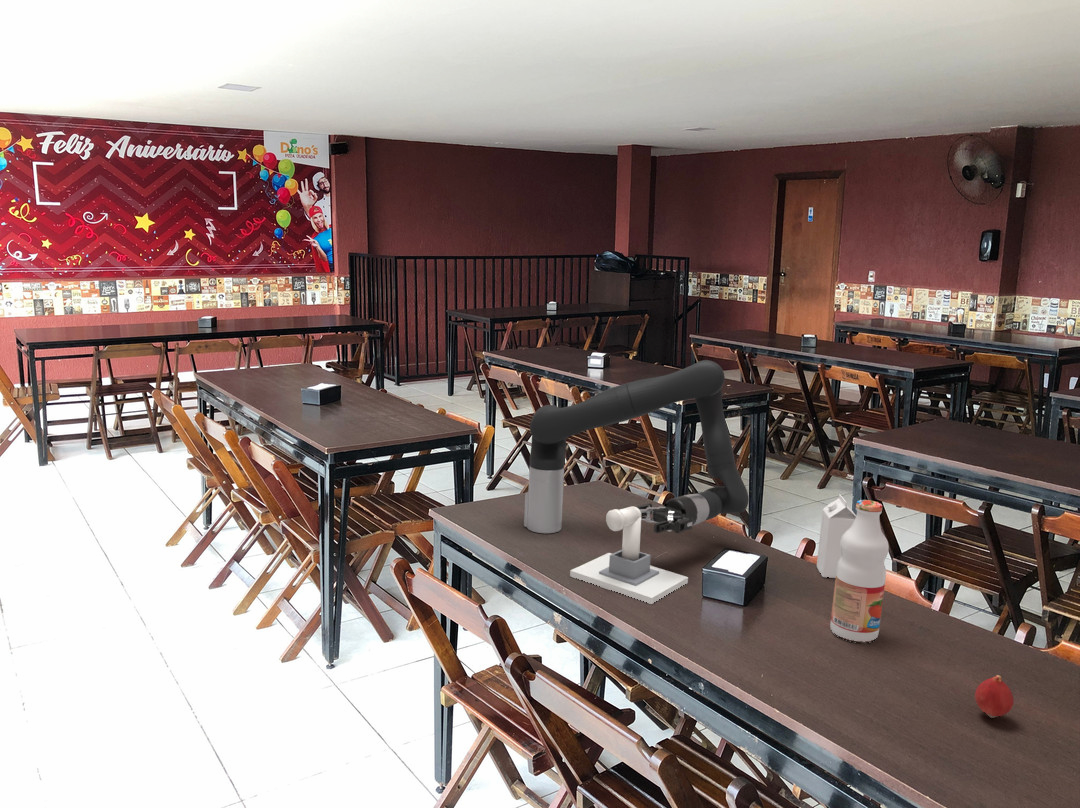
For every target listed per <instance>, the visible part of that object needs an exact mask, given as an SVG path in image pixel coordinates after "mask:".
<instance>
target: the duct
mask: <svg viewBox="0 0 1080 808" xmlns="http://www.w3.org/2000/svg"><path fill="white" fill-rule="evenodd" d="M651 556H652V555H651V554H648V553H645V552H641V551H639V559H638V560H636V561H631V560H628V559H625V558H622V549H620V550H618V551H615V552H613V553H611V552H607V553H605V554H603V555H601V556H599V557H596V558H595V559H591V560H590V561H588V562H586V563H584V564H582V565H580V566H577V567H575V568H572V569H570V570H569V577H570V578H573V579H576V578H577V579H576V580H578V579H579V581H581V580H583V581H582V582H584V581H585V583H587V582H588V584H590V583H592V584H591V585H593V584H594V586H596V585H597V586H596V587H599V586H600V587H599V588H602V589H606V590H608V591H611V590H612V591H611V592H614V591H615V592H614V593H616V592H618V593H617V594H619V593H621V594H620V595H622V594H624V595H623V596H625V595H626V597H628V596H629V598H631V597H632V599H634V598H635V599H634V600H637V599H638V601H640V600H641V601H640V602H643V601H644V602H643V603H646V602H647V604H649V605H653V604H655V603H657V602H658V601H660V600H661V598H662V599H663V598H665V597H667V596H669V595H670V594H672V593H673V591H674V590H675V591H677V590H679V589H681V588H682V587H684V586H686V585H687V584H688V583H689V577H688V576H685V575H682V574H679V573H676V572H674V571H673V572H672V571H669V570H667V569H666V570H665V569H663V568H660V567H656V566H653V565H651V558H652V557H651ZM685 584H686V585H685ZM683 585H684V586H683ZM681 586H682V587H681ZM680 587H681V588H680ZM678 588H679V589H678ZM676 589H677V590H676ZM675 591H674V592H675ZM671 592H672V593H671ZM669 593H670V594H669ZM668 594H669V595H668ZM666 595H667V596H666ZM664 596H665V597H664ZM659 599H660V600H659ZM656 601H657V602H656ZM654 602H655V603H654Z"/></svg>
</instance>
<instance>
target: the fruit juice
mask: <svg viewBox="0 0 1080 808" xmlns="http://www.w3.org/2000/svg"><path fill="white" fill-rule="evenodd" d="M855 510H856V514H855V515H856V518H855V520H854V522H853V524H852V526H851V527H850V528H849V529H848V530H847V531H846V532H845V533H844V534H843V536H842V538H841V543H840V546H841V553H842V556H841V558H840V560H839V562H838V565H837V571H836V578H835V581H834V589H833V598H832V605H831V615H830V625H829V626H830V631H831V630H832V631H831V633H833V634H834V633H835V634H836V635H838V636H840V637H843V638H846V639H849V640H854V641H863V642H865V641H871V640H874V639H876V638H877V639H878V636H879V632H880V624H881V618H882V610H883V603H884V601H883V600H884V596H885V595H884V594H885V585H886V579H887V578H886V577H887V570H886V566H885V565H886V564H885V561H886V559H887V556H888V554H889V541H888V539H887V538H886V536H885V534H884V533H883V531H882V528H881V521H880V515H881V514H882V511H883V505H882V503H880V502H879V501H874V500H869V499H868V500H867V499H859V500H857V501H856V503H855ZM835 634H834V635H835ZM836 635H835V636H836ZM838 636H837V637H838ZM877 639H876V640H877Z"/></svg>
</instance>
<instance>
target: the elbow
mask: <svg viewBox="0 0 1080 808" xmlns="http://www.w3.org/2000/svg"><path fill="white" fill-rule="evenodd" d="M605 516H606V517H605V522H606V524H607V528H609V530H611V531H613V532H619V531H622V542H621V543H622V544H621V545H622V547H621V550H622V558H625V559H628V560H631V561H636V560H638V559H639V552H641V551H640V547H641V531H642V530H641V529H642V520H641V511H640V510H639V509H638V508H637V507H635V506H634V505H633V506H628V507H625V508H620V509H618V508H615V509H610V510H609V511H608V512H607V513H606V515H605Z"/></svg>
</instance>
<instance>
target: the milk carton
mask: <svg viewBox="0 0 1080 808" xmlns="http://www.w3.org/2000/svg"><path fill="white" fill-rule="evenodd" d="M821 514H822V515H821V523H820V532H819V540H818V549H817V558H816V559H817V560H816V568H817V570H818V572H819V573H821V574H820V575H821V577H822V578H827V577H829V578H830V579H836V571H837V565H838V562H839V560H840V558H841V556H842V553H841V546H840V543H841V538H842V536H843V534H844V533H845V532H846V531H847V530H848V529H849V528H850V527H851V526H852V524H853V522H854V520H855V518H856V515H857V514H855V512H854V511H853V510H852V509H851V508H850V507H849V506H848V502H847V501H846V500H845V498H844V497H843V496H842V495H841V493H840V494H838V498H837V499H835V500H833V501H832V502H830V503H828V504H827V505H826V506H824V508H822V513H821Z"/></svg>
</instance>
